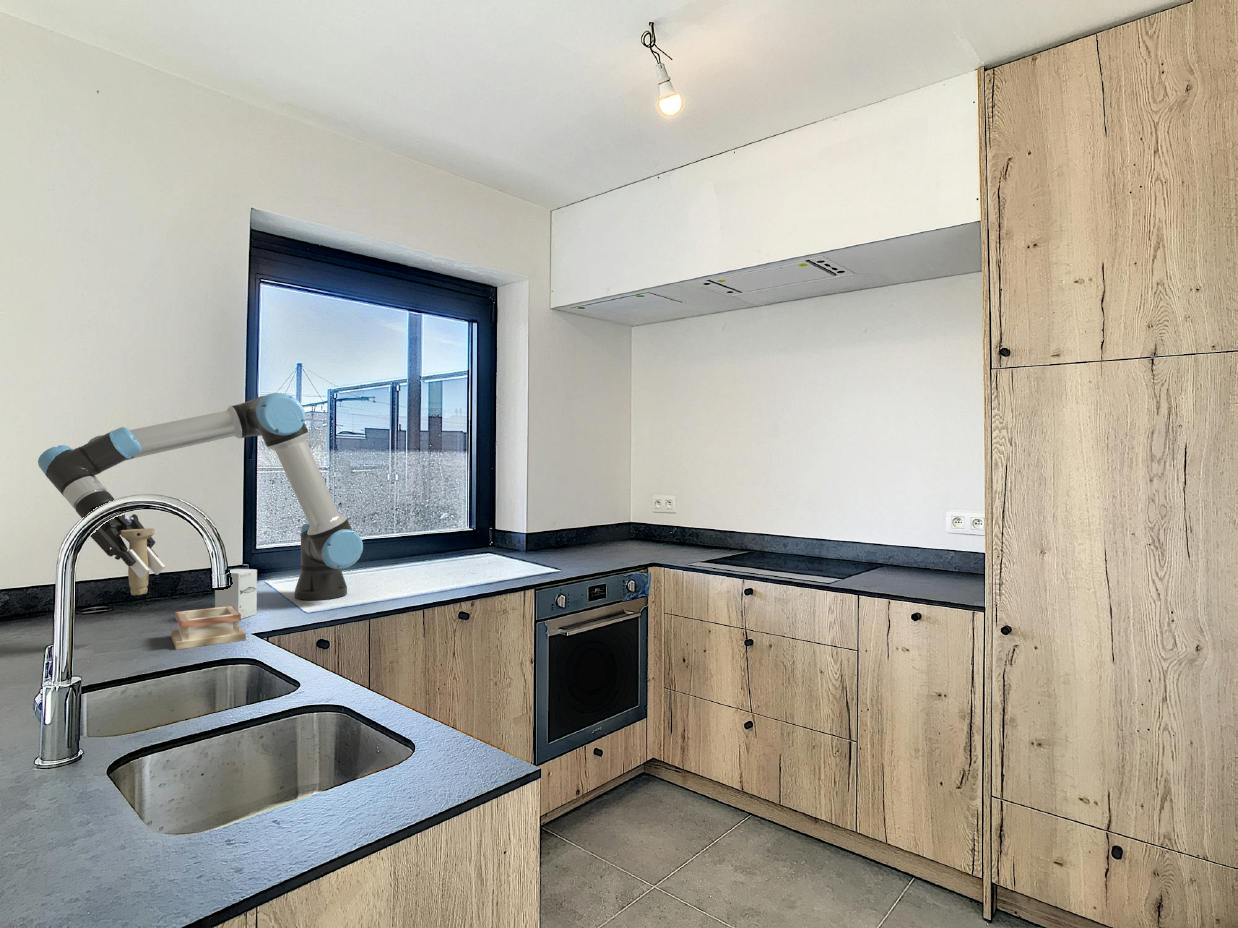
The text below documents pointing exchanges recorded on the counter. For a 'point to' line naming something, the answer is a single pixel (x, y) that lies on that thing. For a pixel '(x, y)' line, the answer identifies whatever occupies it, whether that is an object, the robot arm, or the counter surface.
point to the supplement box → (240, 592)
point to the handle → (140, 548)
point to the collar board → (207, 627)
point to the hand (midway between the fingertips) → (152, 572)
